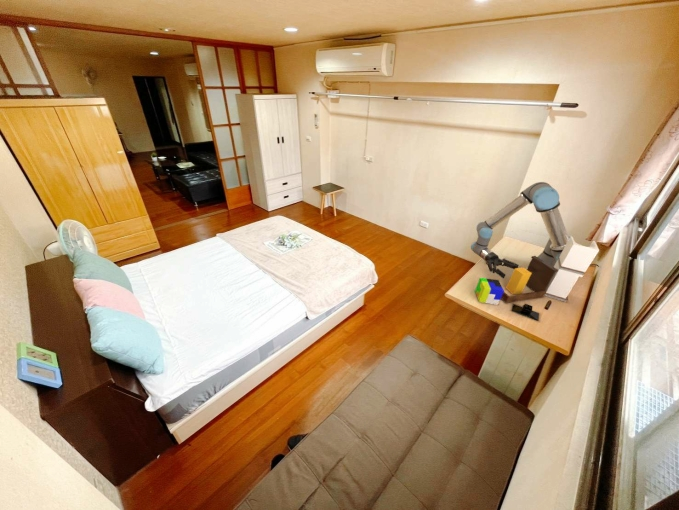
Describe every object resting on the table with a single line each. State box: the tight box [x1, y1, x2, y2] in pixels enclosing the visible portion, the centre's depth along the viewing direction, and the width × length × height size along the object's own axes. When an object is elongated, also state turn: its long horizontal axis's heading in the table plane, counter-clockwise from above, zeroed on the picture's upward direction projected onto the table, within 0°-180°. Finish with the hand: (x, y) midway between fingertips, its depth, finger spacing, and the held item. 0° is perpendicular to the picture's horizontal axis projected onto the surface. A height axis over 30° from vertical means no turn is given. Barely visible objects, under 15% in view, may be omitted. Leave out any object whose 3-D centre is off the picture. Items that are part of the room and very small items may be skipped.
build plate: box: [511, 303, 540, 322], centre depth 143 cm, size 12×7×5 cm, turn 54°
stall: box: [500, 255, 559, 304], centre depth 154 cm, size 27×16×19 cm, turn 103°
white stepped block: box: [544, 235, 600, 303], centre depth 149 cm, size 11×11×35 cm
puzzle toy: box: [474, 277, 505, 306], centre depth 151 cm, size 10×10×10 cm
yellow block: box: [505, 267, 532, 295], centre depth 155 cm, size 6×6×15 cm
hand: (514, 275), depth 158 cm, fingers open, 13 cm apart
